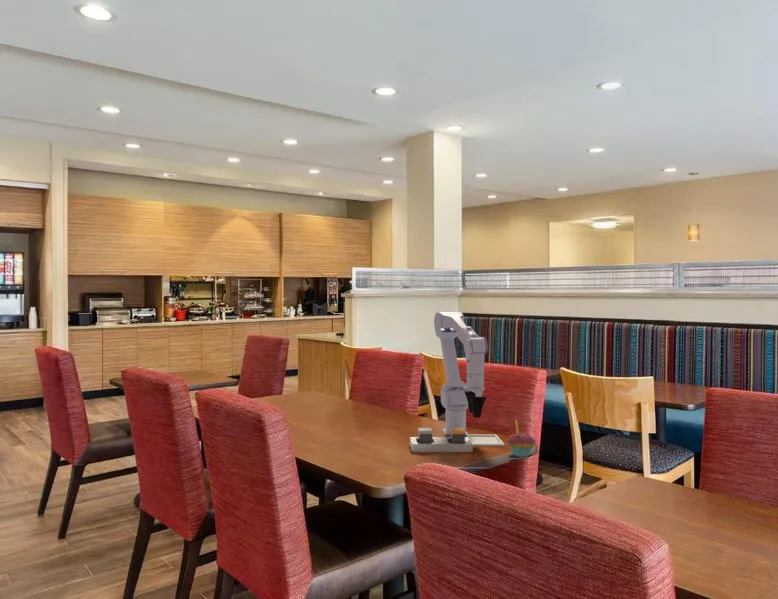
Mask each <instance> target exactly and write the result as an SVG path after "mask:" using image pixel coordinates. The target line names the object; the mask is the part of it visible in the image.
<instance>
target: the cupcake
mask: <svg viewBox="0 0 778 599" xmlns="http://www.w3.org/2000/svg"><path fill="white" fill-rule="evenodd" d="M514 422H515V424H514V425H515V431H516V433H513V434H511V435H509V437H508V438H507V440H506V441H507V443H506V444H507V445H508V446H509V447H510V450H511V453H512V456H514V457H515V458H517V459H522V460H523V459H528V458H529V457H530V456H531V455H530V454H531V452H532V449H533V448H535V447H536V440H535V438H534V437H533V436H531V434H528V433H524V432H523V433H522V432H520V431H519V424H518V420H517V417H515V418H514Z"/></svg>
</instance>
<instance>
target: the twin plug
mask: <svg viewBox="0 0 778 599" xmlns="http://www.w3.org/2000/svg"><path fill="white" fill-rule="evenodd" d="M417 429H418V430H417V432H418V433H417V434H418V436H417V437H418V443H432V437H433V430H432V428H431V427H418V428H417Z"/></svg>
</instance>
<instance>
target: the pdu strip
mask: <svg viewBox="0 0 778 599" xmlns="http://www.w3.org/2000/svg"><path fill="white" fill-rule="evenodd" d="M409 447H410V450H411V451H410V452H411V453H473V451H474V450H473V447H474V446H473V444H472V442H471V441H470V439H469V438H468V437H466V436H465V443H450V436H441V437H440V436H432V443H418V436H410V437H409Z"/></svg>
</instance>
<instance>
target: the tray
mask: <svg viewBox="0 0 778 599" xmlns="http://www.w3.org/2000/svg"><path fill="white" fill-rule="evenodd" d="M465 437H468V438H469V439H470V441H471V442H472V444H473V447H505V443H504V442H503V440H501V438H500V437H499V436H498V435H497V434H496V433H495V434H494V433H493V434H479V433H477V434H475V433H474V434H470V433H468V434H466V435H465Z"/></svg>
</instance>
